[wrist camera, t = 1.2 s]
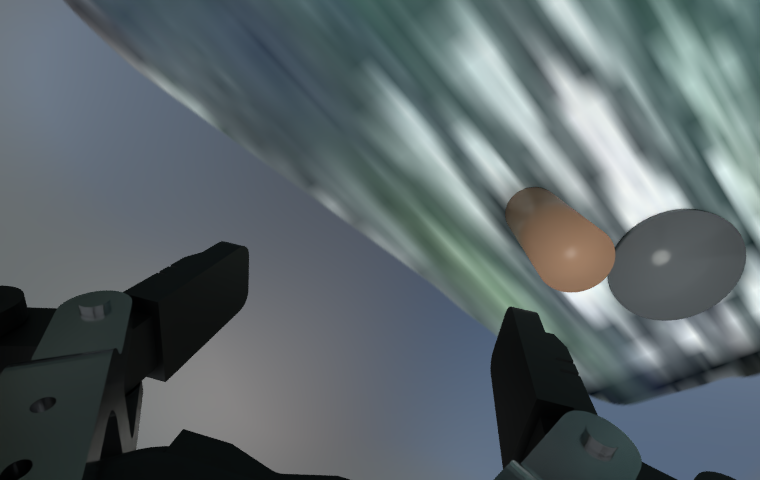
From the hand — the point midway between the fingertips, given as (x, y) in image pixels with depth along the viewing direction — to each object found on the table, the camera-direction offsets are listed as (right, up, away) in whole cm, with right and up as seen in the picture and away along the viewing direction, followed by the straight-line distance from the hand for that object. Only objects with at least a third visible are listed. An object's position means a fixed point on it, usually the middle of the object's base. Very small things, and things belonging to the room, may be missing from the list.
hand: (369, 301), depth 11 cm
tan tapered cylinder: (+16, +5, +26) cm, 31 cm away
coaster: (+30, -1, +26) cm, 40 cm away
